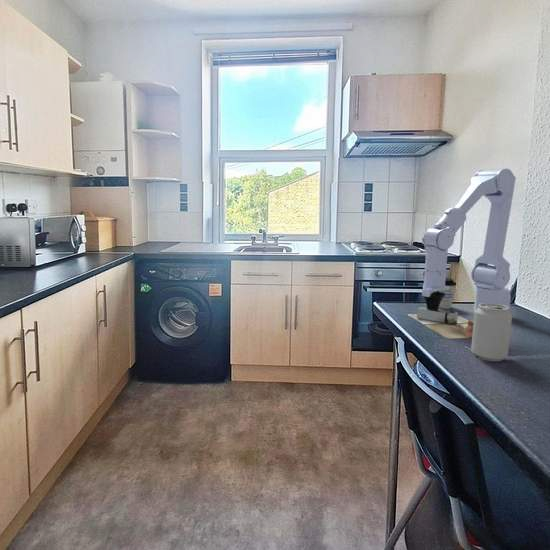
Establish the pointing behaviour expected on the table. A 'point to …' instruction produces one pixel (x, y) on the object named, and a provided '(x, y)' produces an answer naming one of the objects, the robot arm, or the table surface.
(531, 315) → the table surface
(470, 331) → the board
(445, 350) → the table surface
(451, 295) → the coffee cup
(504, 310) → the can
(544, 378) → the table surface
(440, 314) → the latch
